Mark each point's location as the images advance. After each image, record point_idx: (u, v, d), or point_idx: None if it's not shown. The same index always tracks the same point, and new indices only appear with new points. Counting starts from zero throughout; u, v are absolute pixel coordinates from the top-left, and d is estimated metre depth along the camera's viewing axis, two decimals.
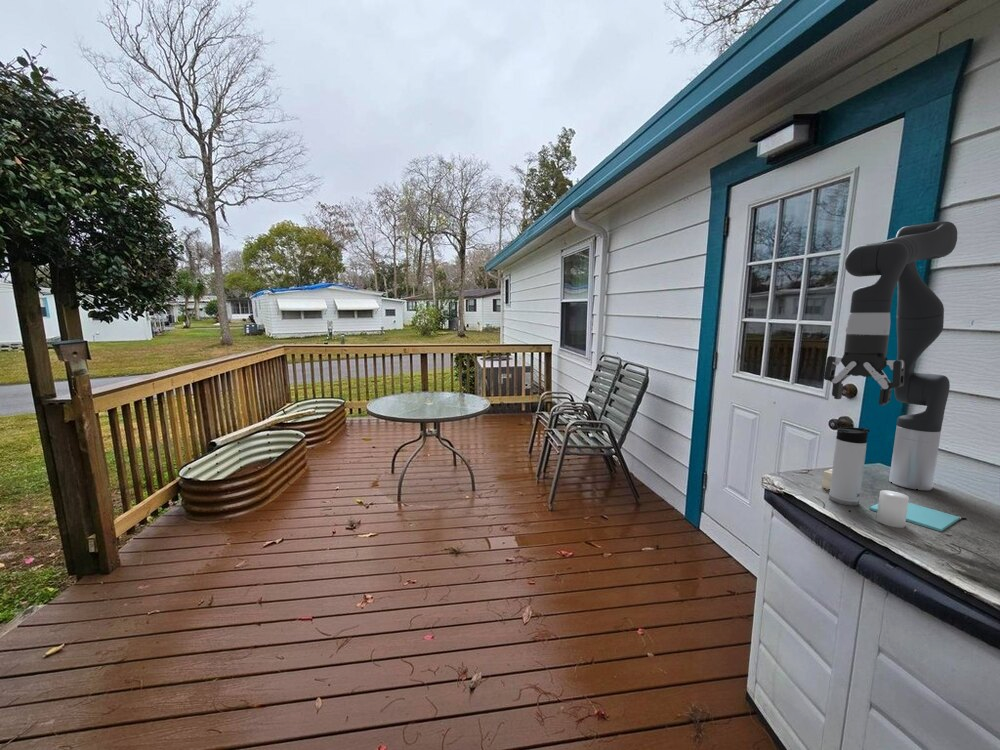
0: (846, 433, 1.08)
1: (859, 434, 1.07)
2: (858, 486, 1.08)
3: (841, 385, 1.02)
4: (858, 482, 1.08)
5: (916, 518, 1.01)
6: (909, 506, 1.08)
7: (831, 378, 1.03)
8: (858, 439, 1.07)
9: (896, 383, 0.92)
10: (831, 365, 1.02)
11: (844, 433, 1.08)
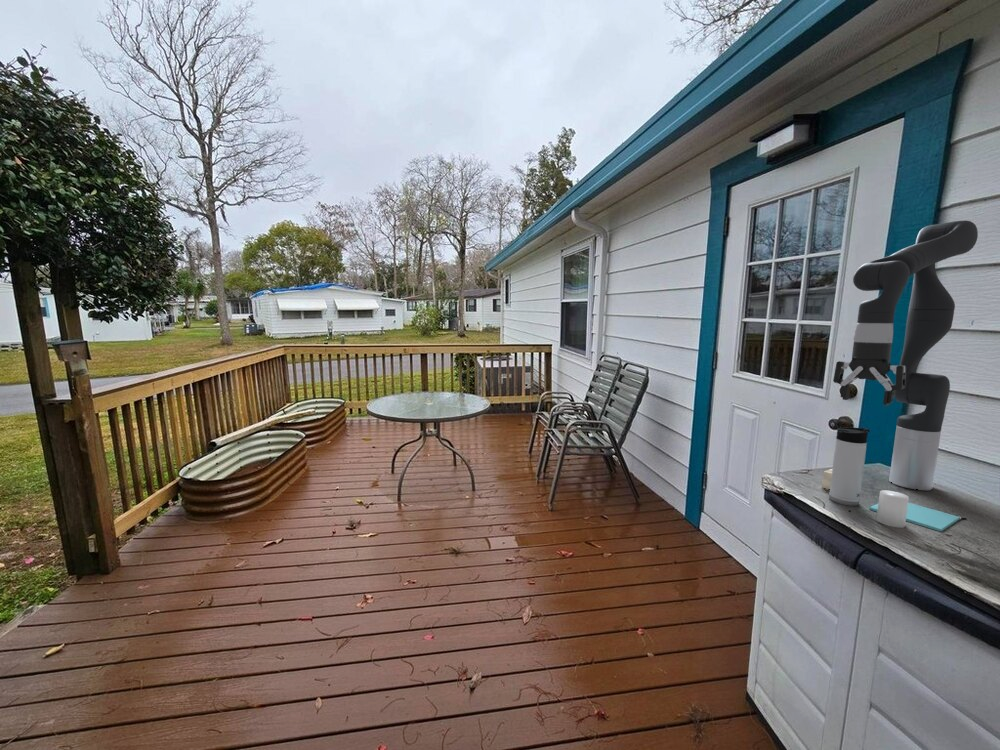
0: (846, 433, 1.08)
1: (859, 434, 1.07)
2: (858, 486, 1.08)
3: (849, 387, 1.14)
4: (858, 482, 1.08)
5: (916, 518, 1.01)
6: (909, 506, 1.08)
7: (840, 381, 1.15)
8: (858, 439, 1.07)
9: (899, 386, 1.04)
10: (840, 369, 1.14)
11: (844, 433, 1.08)
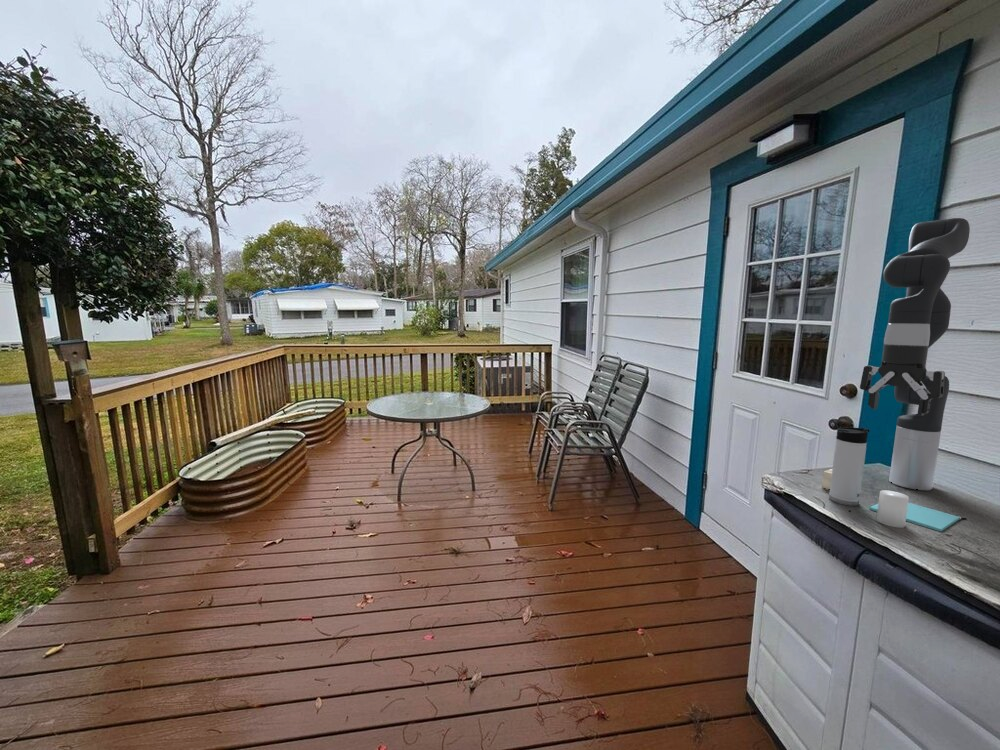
0: (846, 433, 1.08)
1: (859, 434, 1.07)
2: (858, 486, 1.08)
3: (877, 395, 1.03)
4: (858, 482, 1.08)
5: (916, 518, 1.01)
6: (909, 506, 1.08)
7: (867, 388, 1.03)
8: (858, 439, 1.07)
9: (936, 394, 0.93)
10: (868, 375, 1.03)
11: (844, 433, 1.08)
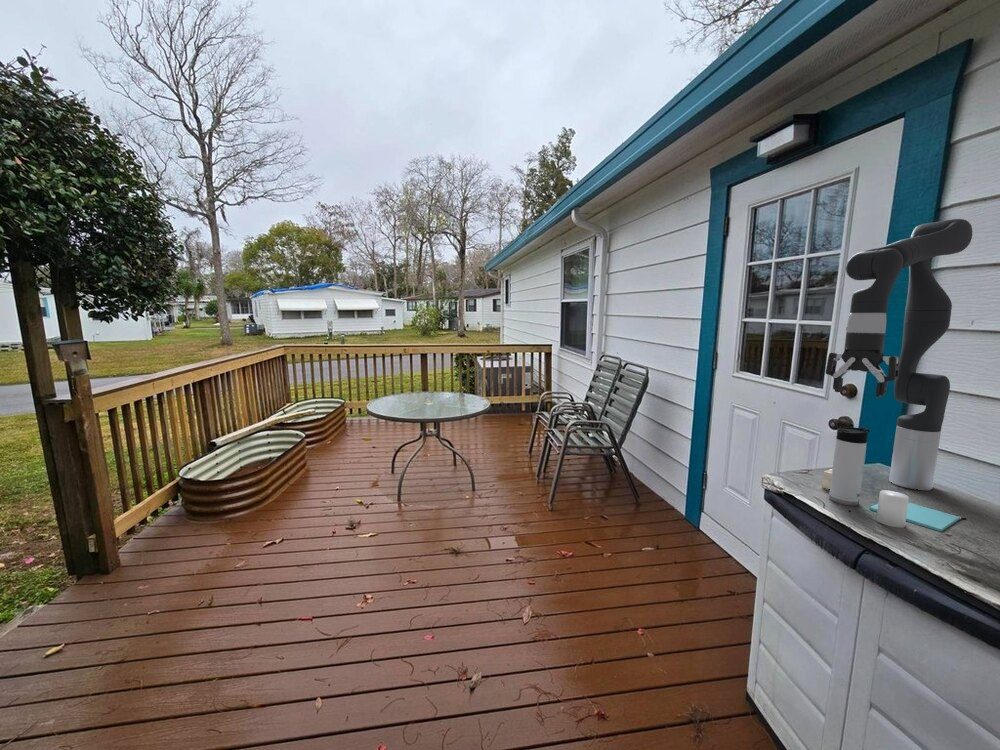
0: (846, 433, 1.08)
1: (859, 434, 1.07)
2: (858, 486, 1.08)
3: (841, 379, 1.11)
4: (858, 482, 1.08)
5: (916, 518, 1.01)
6: (909, 506, 1.08)
7: (832, 373, 1.12)
8: (858, 439, 1.07)
9: (891, 377, 1.01)
10: (832, 361, 1.12)
11: (844, 433, 1.08)
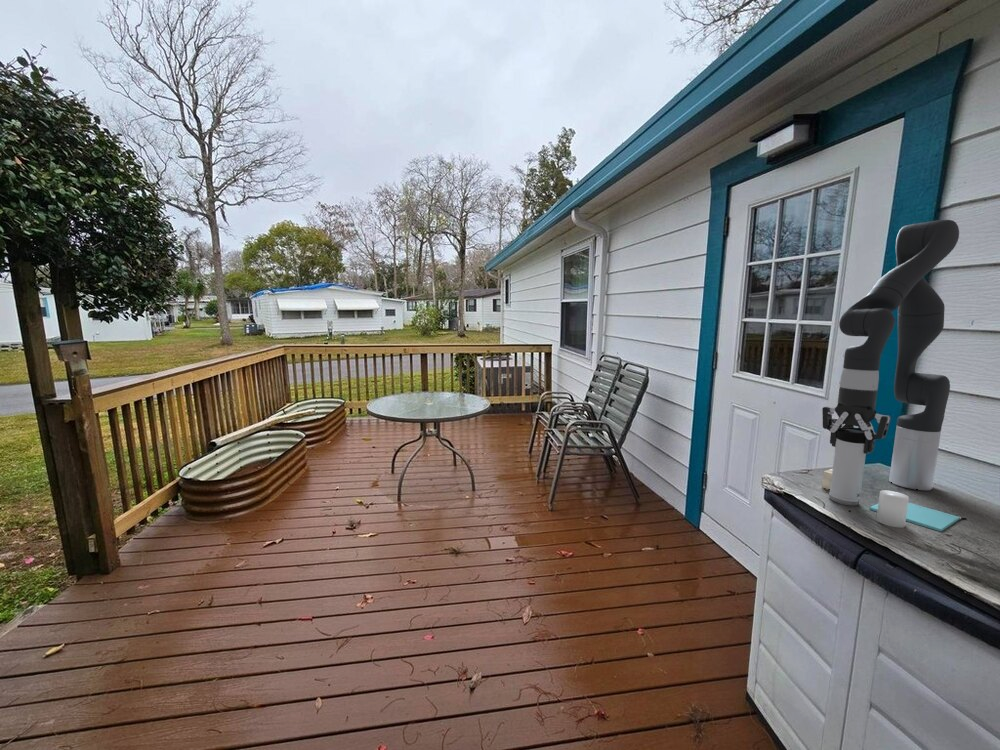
0: (847, 433, 1.08)
1: (860, 434, 1.06)
2: (858, 486, 1.08)
3: None
4: (858, 483, 1.08)
5: (916, 518, 1.01)
6: (909, 506, 1.08)
7: (829, 427, 1.13)
8: (858, 439, 1.07)
9: (879, 435, 1.04)
10: (827, 415, 1.13)
11: (845, 433, 1.08)
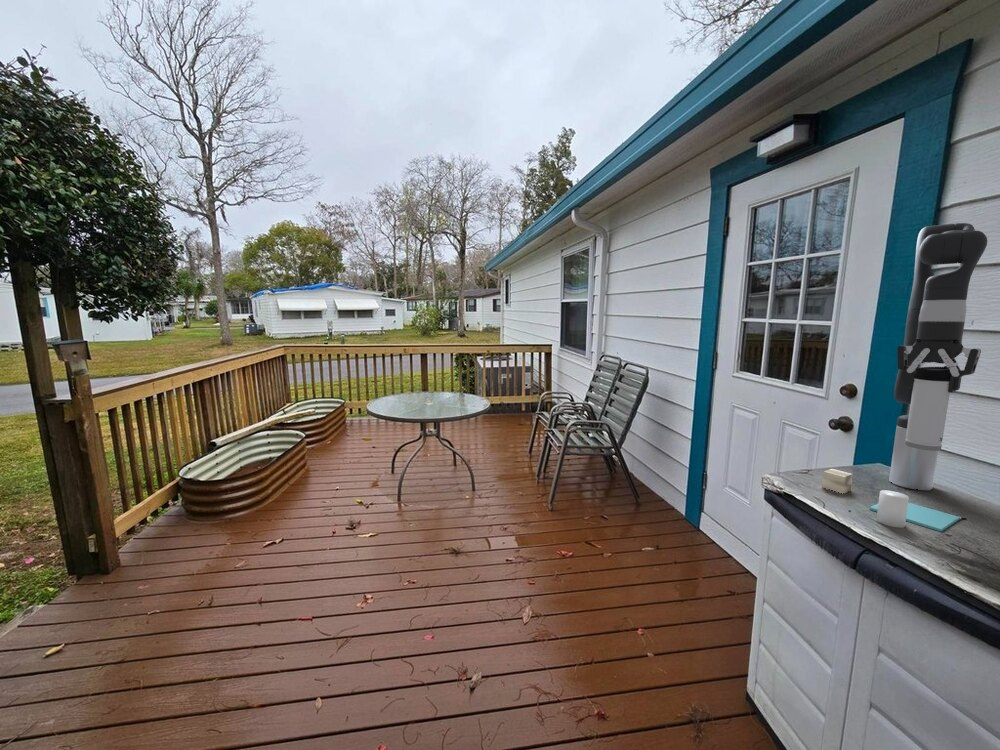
0: (928, 371, 0.99)
1: (944, 371, 0.97)
2: (942, 429, 0.99)
3: None
4: (941, 425, 0.99)
5: (916, 518, 1.01)
6: (909, 506, 1.08)
7: (906, 367, 1.04)
8: (942, 376, 0.97)
9: (967, 371, 0.94)
10: (903, 354, 1.04)
11: (926, 371, 0.99)
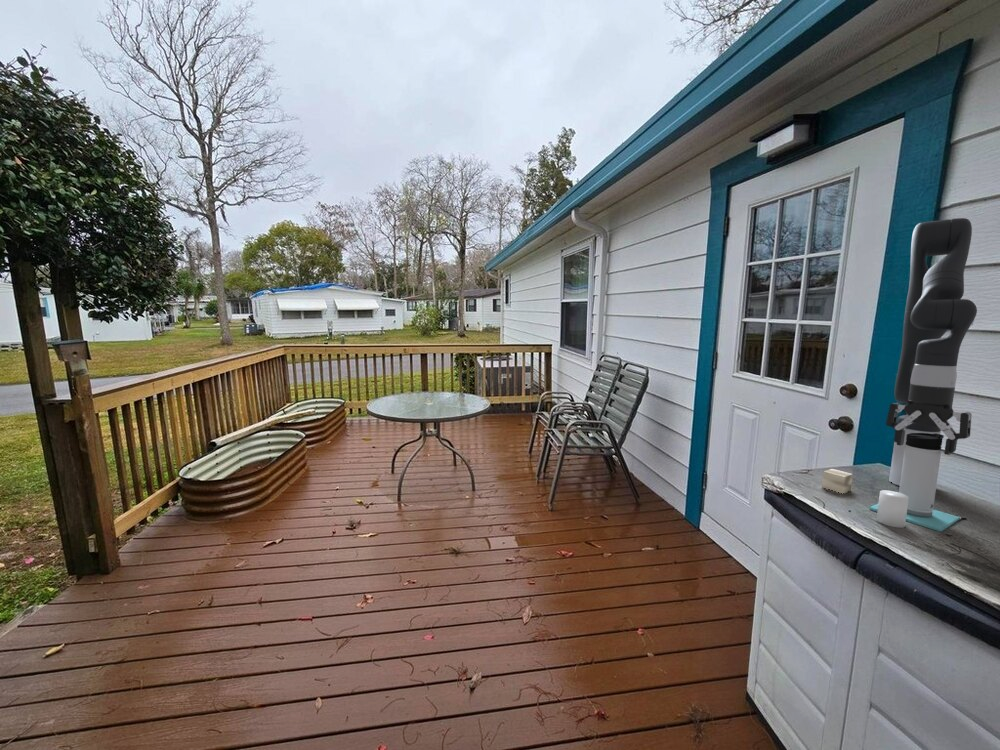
0: (919, 439, 1.01)
1: (934, 440, 0.99)
2: (932, 496, 1.01)
3: (904, 432, 1.06)
4: (932, 492, 1.01)
5: (916, 518, 1.01)
6: None
7: (893, 425, 1.06)
8: (932, 445, 0.99)
9: (963, 435, 0.95)
10: (894, 412, 1.06)
11: (916, 439, 1.01)
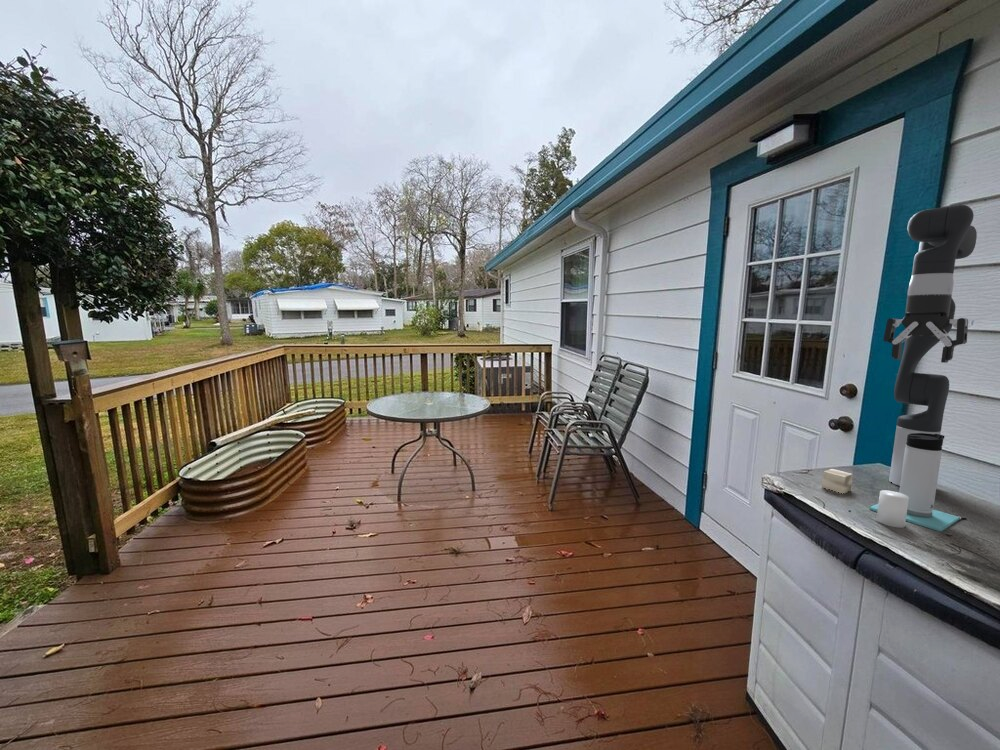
0: (919, 439, 1.01)
1: (934, 441, 0.99)
2: (932, 497, 1.01)
3: (901, 346, 1.06)
4: (932, 493, 1.00)
5: (916, 518, 1.01)
6: None
7: (891, 340, 1.07)
8: (933, 446, 0.99)
9: (960, 340, 0.96)
10: (891, 327, 1.06)
11: (917, 439, 1.01)
